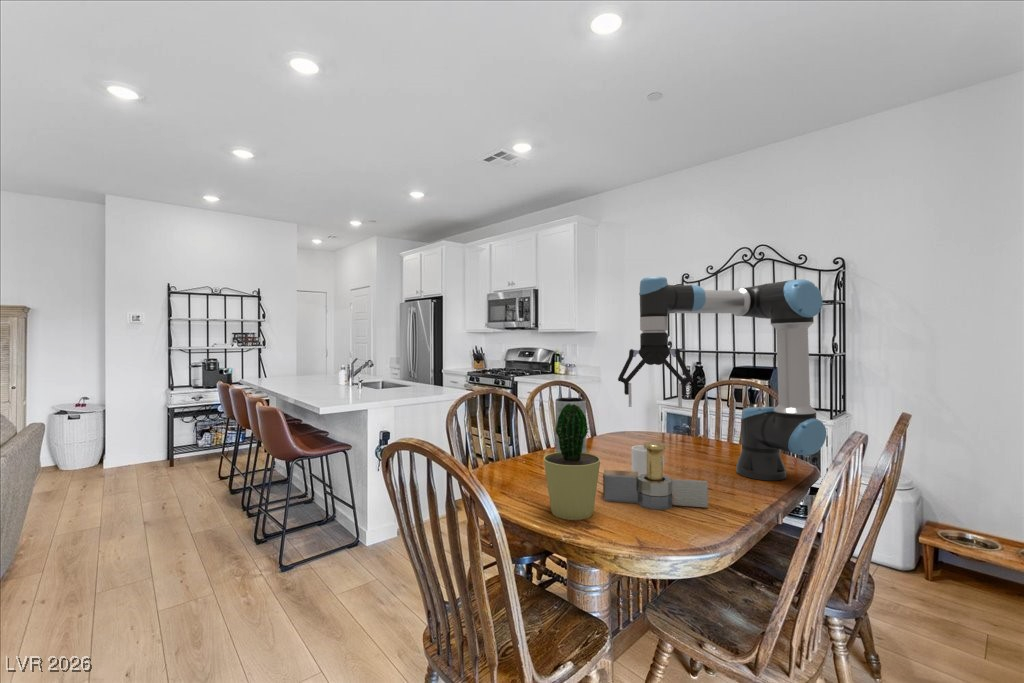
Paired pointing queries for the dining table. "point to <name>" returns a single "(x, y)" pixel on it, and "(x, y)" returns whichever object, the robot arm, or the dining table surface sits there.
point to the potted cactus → (572, 468)
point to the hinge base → (632, 493)
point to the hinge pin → (654, 460)
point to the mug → (639, 459)
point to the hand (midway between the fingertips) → (654, 406)
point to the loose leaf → (676, 490)
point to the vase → (559, 406)
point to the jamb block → (615, 472)
